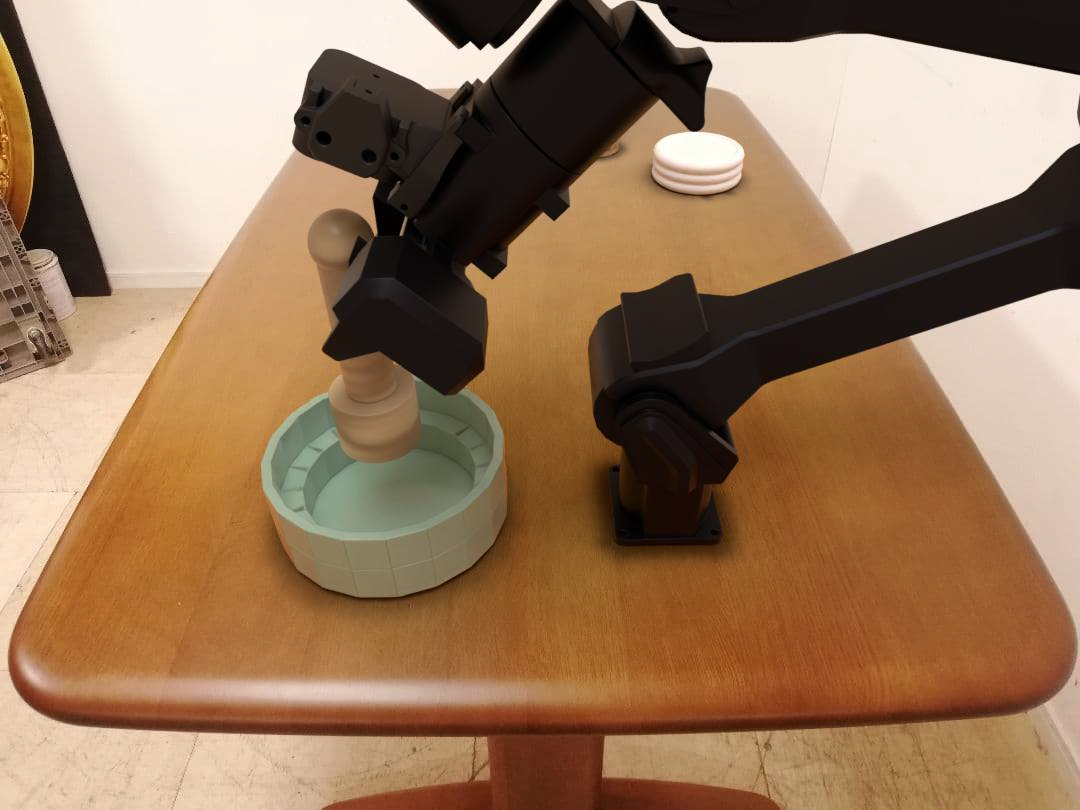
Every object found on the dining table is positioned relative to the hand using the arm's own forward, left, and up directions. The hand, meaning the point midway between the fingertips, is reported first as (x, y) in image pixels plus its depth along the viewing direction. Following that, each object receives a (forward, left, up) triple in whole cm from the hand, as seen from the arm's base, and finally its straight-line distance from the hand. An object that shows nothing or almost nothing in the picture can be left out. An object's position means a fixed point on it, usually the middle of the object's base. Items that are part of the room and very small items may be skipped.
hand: (335, 337), depth 41 cm
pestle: (0, -1, -7) cm, 7 cm away
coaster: (+50, -28, -14) cm, 59 cm away
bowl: (0, -1, -13) cm, 14 cm away
